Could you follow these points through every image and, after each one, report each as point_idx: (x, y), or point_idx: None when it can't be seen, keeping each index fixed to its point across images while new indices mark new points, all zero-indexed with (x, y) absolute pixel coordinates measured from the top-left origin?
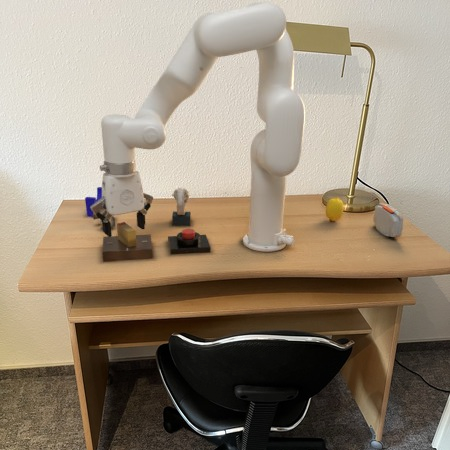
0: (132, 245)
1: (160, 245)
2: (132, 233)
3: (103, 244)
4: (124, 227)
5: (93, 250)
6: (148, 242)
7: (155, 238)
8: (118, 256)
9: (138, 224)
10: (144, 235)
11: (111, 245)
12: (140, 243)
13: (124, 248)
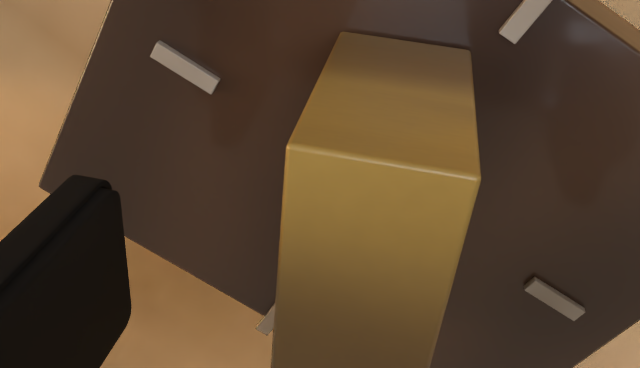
0: (407, 44)
1: (24, 43)
2: (370, 128)
3: (629, 320)
4: (386, 345)
5: (599, 360)
6: (154, 8)
7: (15, 198)
8: (634, 35)
9: (109, 311)
10: None
11: (584, 245)
12: (261, 53)
13: (534, 64)
